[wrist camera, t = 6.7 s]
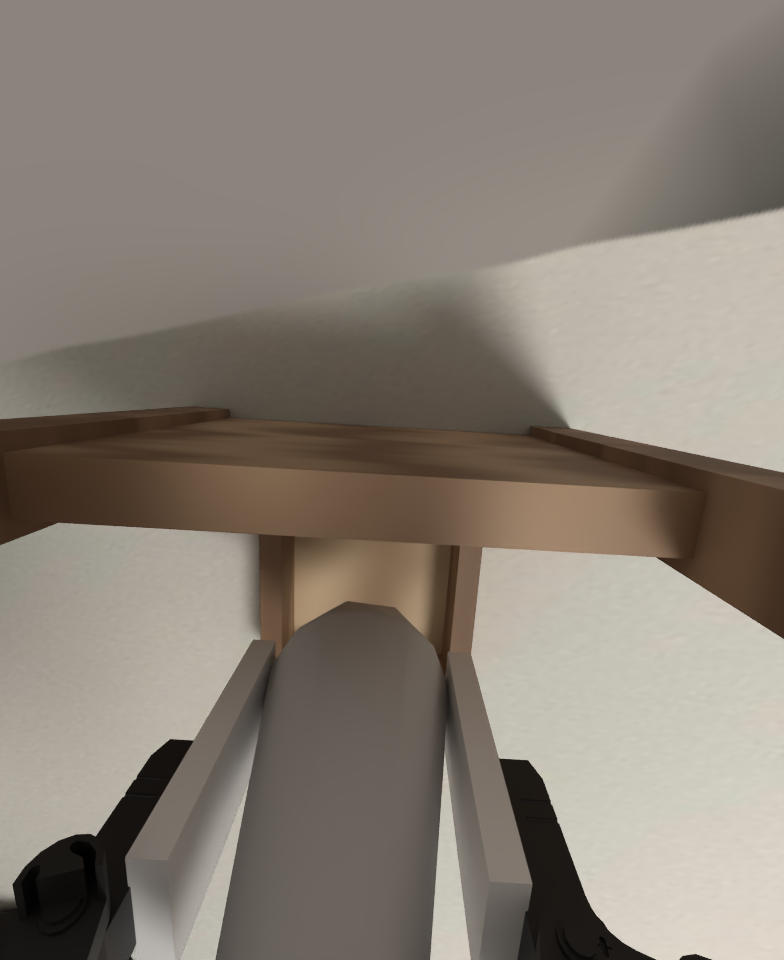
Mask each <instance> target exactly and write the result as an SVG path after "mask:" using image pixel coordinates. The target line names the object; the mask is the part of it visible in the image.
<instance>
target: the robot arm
mask: <svg viewBox="0 0 784 960" xmlns="http://www.w3.org/2000/svg"><path fill="white" fill-rule="evenodd" d="M275 660H276V641H267V640H253V641H252V643H251V644H250V646H249V648H248V649H247V651H246V653H245V655H244V656H243V658H242V660H241V661H240V663H239V665H238V666H237V668H236V670H235V672H234V673H233V675H232V677H231V678H230V680H229V682H228V683H227V685H226V687H225V689H224V690H223V692H222V694H221V695H220V697H219V699H218V700H217V702H216V704H215V706H214V707H213V709H212V711H211V712H210V714H209V716H208V717H207V719H206V721H205V723H204V724H203V726H202V728H201V729H200V731H199V733H198V734H197V736H196V738H195V740H194V741H190V740H174V739H170V740H169V741H168V742H166V743H165V744H164V745H163V746H162V747H161V748H159V749H158V750H157V751H156V752H155V753H154V754H152V755H151V756H150V758H149V759H148V761H147V762H146V764H145V765H144V767H143V768H142V770H141V771H140V772H139V774H138V775H137V779H136V780H134V781H133V783H132V784H131V786H130V787H129V789H128V790H127V792H126V794H125V796H124V797H122V799H121V800H120V802H119V803H118V805H117V806H116V808H115V809H114V811H113V812H112V814H111V815H110V816H109V818H108V819H107V821H106V822H105V824H104V825H103V827H102V828H101V830H100V831H99V833H98V834H97V836H96V837H95V836H93V835H91V834H80V835H74V836H71V837H68V838H65V839H62V840H60V841H58V842H56V843H54V844H53V845H51V846H50V847H48V848H46V849H45V850H43V851H42V852H40V853H39V854H38V855H37V856H36V857H35V858H34V859H33V860H32V861H31V862H30V863H29V864H28V865H26V866H25V867H24V869H23V870H22V872H21V873H20V875H19V876H18V877H17V879H16V880H15V882H14V883H13V890H14V895H15V901H16V906H17V910H15V911H5V912H0V960H129V958H130V956H131V954H132V952H133V950H134V948H135V956H136V960H180V958H181V955H182V953H183V950H184V948H185V945H186V942H187V940H188V937H189V935H190V932H191V930H192V927H193V924H194V922H195V919H196V917H197V914H198V911H199V909H200V906H201V904H202V901H203V898H204V896H205V893H206V891H207V888H208V886H209V883H210V880H211V878H212V875H213V873H214V870H215V867H216V865H217V862H218V860H219V857H220V854H221V852H222V849H223V847H224V844H225V842H226V839H227V836H228V834H229V831H230V829H231V826H232V823H233V821H234V818H235V816H236V813H237V810H238V808H239V805H240V803H241V800H242V798H243V795H244V792H245V790H246V787H247V785H248V782H249V779H250V776H251V770H252V765H253V760H254V755H255V749H256V744H257V739H258V733H259V728H260V723H261V718H262V712H263V707H264V702H265V697H266V691H267V686H268V681H269V675H270V670H271V665H272V664H273V662H274V661H275ZM445 679H446V682H447V685H448V708H447V722H446V736H445V755H446V763H447V771H448V779H449V787H450V795H451V803H452V811H453V819H454V827H455V836H456V844H457V852H458V860H459V868H460V876H461V884H462V892H463V900H464V908H465V916H466V924H467V932H468V940H469V948H470V956H471V960H656V959H653V958H651V957H649V956H647V955H645V954H643V953H640V952H638V951H636V950H634V949H633V948H631V947H629V946H627V945H626V944H624V943H622V942H621V941H620V940H619V939H618V938H616V937H615V936H614V935H613V934H612V933H610V931H609V930H608V929H607V928H606V926H605V924H604V923H603V922H602V921H601V920H600V919H599V918H598V917H597V916H596V914H595V913H594V911H593V910H592V908H591V906H590V904H589V902H588V900H587V898H586V896H585V893H584V891H583V888H582V885H581V882H580V880H579V877H578V874H577V871H576V869H575V866H574V863H573V861H572V858H571V855H570V852H569V850H568V847H567V844H566V841H565V839H564V836H563V833H562V831H561V828H560V825H559V824H558V822H557V817H556V814H555V812H554V809H553V806H552V805H551V801H550V798H549V795H548V792H547V790H546V787H545V784H544V782H543V779H542V778H541V776H540V775H539V774H538V773H537V771H536V770H535V769H534V767H533V766H532V765H531V764H530V762H529V761H528V760H513V759H499V757H498V754H497V750H496V746H495V743H494V739H493V735H492V731H491V728H490V724H489V720H488V716H487V713H486V709H485V705H484V702H483V698H482V694H481V690H480V687H479V683H478V679H477V675H476V672H475V668H474V664H473V661H472V657H471V653H463V652H448V655H447V666H446V676H445ZM680 960H711V959H708V958H705V957H702V956H700V955H697V954H693V955H686V956H682V957H681V958H680Z"/></svg>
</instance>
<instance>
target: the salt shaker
mask: <svg viewBox="0 0 784 960" xmlns="http://www.w3.org/2000/svg"><path fill="white" fill-rule="evenodd" d="M447 708H448V685H447V682H446V679H445V676H444V674H443V671H442V668H441V665H440V662H439V659H438V656H437V654H436V651H435V648H434V646H433V645H432V644H431V643H430V642H429V641H428V640H427V639H426V638H425V637H424V636H423V635H422V634H421V633H420V632H419V631H418V630H417V629H416V628H415V627H414V626H413V625H412V624H411V623H410V622H409V621H408V620H407V619H406V618H405V617H404V616H403V615H402V614H401V613H400V612H399V611H398V610H397V609H396V608H395V607H389V606H381V605H374V604H366V603H359V602H352V601H346V602H344V603H342V604H340V605H339V606H337V607H335V608H333V609H331V610H329V611H328V612H326V613H324V614H322V615H321V616H319V617H317V618H315V619H314V620H312V621H310V622H308V623H307V624H305V625H303V626H301V627H300V628H299V629H298V630H297V631H296V632H295V634H294V635H293V636H292V637H291V639H290V640H289V642H288V643H287V644H286V646H285V647H284V649H283V650H282V651H281V653H280V654H279V655H278V657H277V658H276V660H275V661H274V662H273V664H272V665H271V670H270V675H269V681H268V686H267V691H266V697H265V702H264V707H263V712H262V718H261V723H260V728H259V733H258V739H257V744H256V749H255V755H254V760H253V765H252V770H251V776H250V781H249V786H248V791H247V797H246V802H245V807H244V813H243V818H242V823H241V828H240V834H239V839H238V844H237V849H236V855H235V860H234V865H233V871H232V876H231V881H230V886H229V892H228V897H227V902H226V907H225V913H224V918H223V923H222V928H221V934H220V939H219V944H218V950H217V955H216V960H430V952H431V938H432V923H433V909H434V895H435V880H436V866H437V851H438V837H439V823H440V808H441V794H442V780H443V765H444V751H445V736H446V722H447Z"/></svg>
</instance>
